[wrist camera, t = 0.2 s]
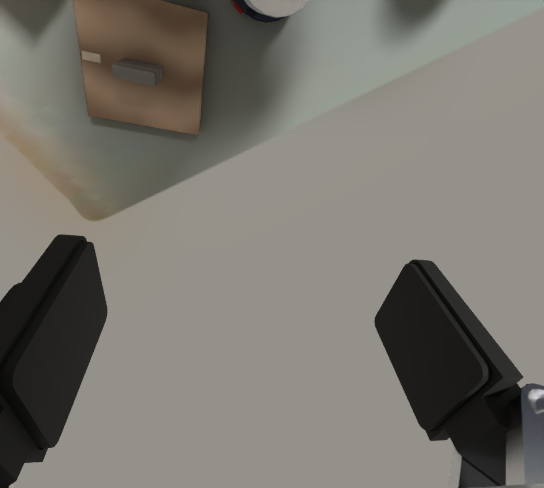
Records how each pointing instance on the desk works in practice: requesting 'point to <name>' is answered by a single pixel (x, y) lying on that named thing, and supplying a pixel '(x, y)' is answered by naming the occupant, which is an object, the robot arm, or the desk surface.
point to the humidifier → (269, 8)
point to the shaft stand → (143, 61)
